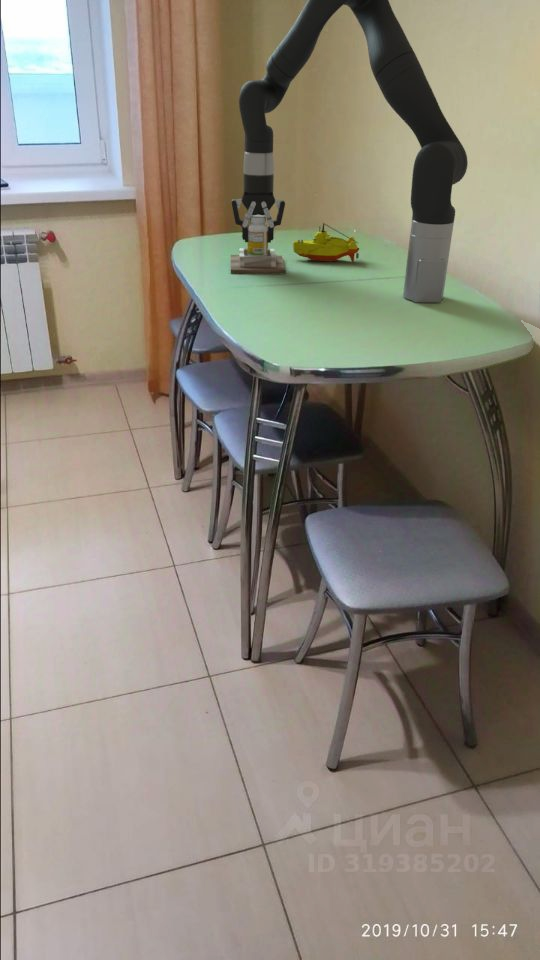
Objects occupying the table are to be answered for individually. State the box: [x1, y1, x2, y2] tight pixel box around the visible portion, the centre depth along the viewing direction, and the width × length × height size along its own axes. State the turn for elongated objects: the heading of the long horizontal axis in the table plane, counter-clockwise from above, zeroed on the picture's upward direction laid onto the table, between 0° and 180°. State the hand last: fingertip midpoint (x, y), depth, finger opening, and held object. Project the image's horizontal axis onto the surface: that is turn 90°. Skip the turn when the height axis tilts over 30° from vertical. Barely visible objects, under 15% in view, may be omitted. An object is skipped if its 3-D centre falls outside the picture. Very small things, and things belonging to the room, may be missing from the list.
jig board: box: [230, 247, 286, 275], centre depth 190 cm, size 16×14×4 cm
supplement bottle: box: [247, 214, 269, 256], centre depth 187 cm, size 5×5×10 cm
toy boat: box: [292, 222, 360, 262], centre depth 195 cm, size 6×18×10 cm, turn 89°
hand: (257, 241), depth 187 cm, fingers closed on supplement bottle, 5 cm apart
